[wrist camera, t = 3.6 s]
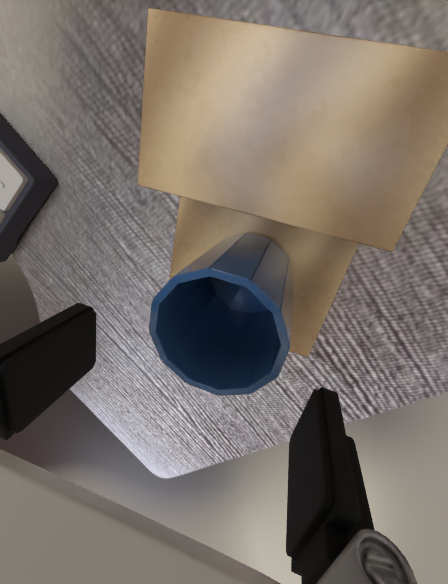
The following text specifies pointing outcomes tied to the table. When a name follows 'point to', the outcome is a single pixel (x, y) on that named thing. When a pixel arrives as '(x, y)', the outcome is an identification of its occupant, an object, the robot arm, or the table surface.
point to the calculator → (19, 187)
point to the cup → (227, 316)
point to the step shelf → (289, 143)
